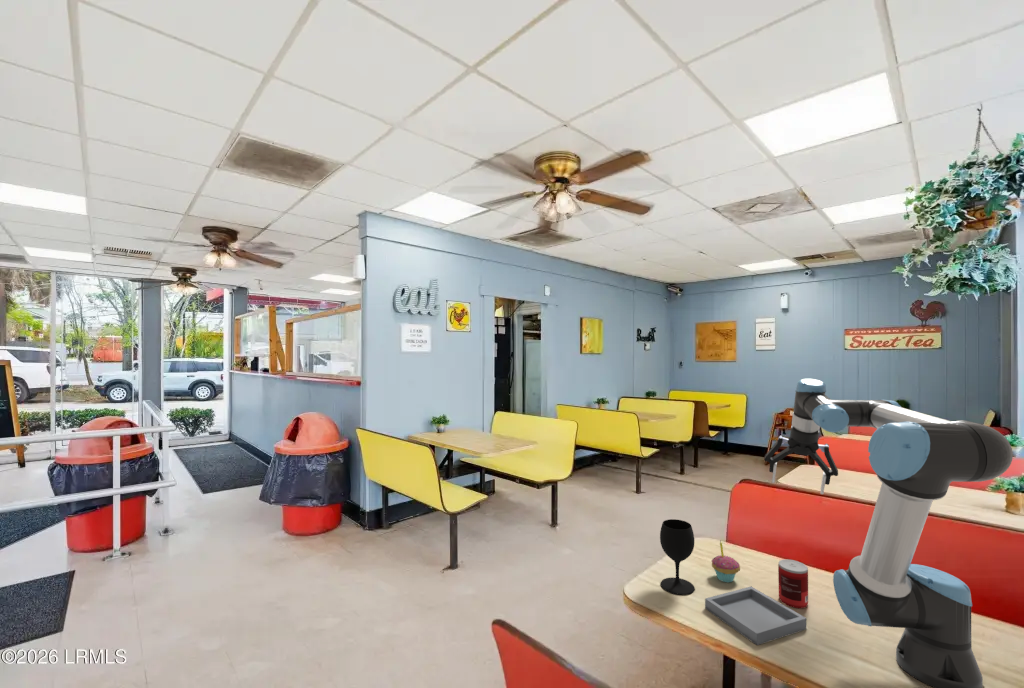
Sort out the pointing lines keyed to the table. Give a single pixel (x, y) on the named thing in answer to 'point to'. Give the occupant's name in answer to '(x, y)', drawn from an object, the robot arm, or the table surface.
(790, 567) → the canned food
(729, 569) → the cupcake
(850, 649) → the table surface
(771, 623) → the tray
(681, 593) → the wine glass
